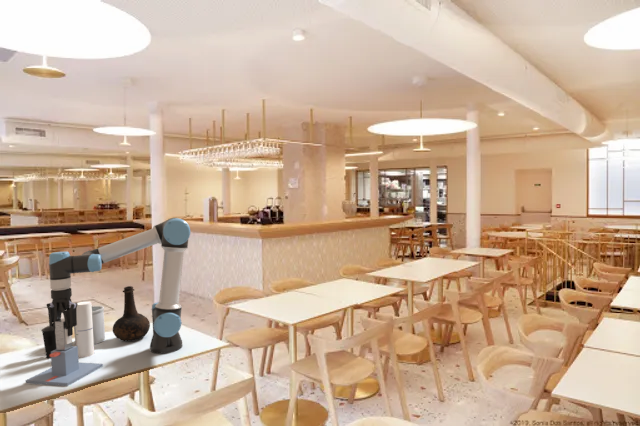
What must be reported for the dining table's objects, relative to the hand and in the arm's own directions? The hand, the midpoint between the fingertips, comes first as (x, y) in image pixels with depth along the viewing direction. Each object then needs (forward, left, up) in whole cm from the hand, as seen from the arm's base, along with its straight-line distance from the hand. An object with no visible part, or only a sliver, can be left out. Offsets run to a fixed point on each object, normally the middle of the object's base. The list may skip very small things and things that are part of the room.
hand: (64, 342), depth 183 cm
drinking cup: (+24, -18, -14) cm, 33 cm away
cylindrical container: (+9, -22, -14) cm, 28 cm away
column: (0, 0, -12) cm, 12 cm away
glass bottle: (+1, -46, -14) cm, 48 cm away
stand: (0, 0, -14) cm, 14 cm away
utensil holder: (+21, -39, -14) cm, 46 cm away
